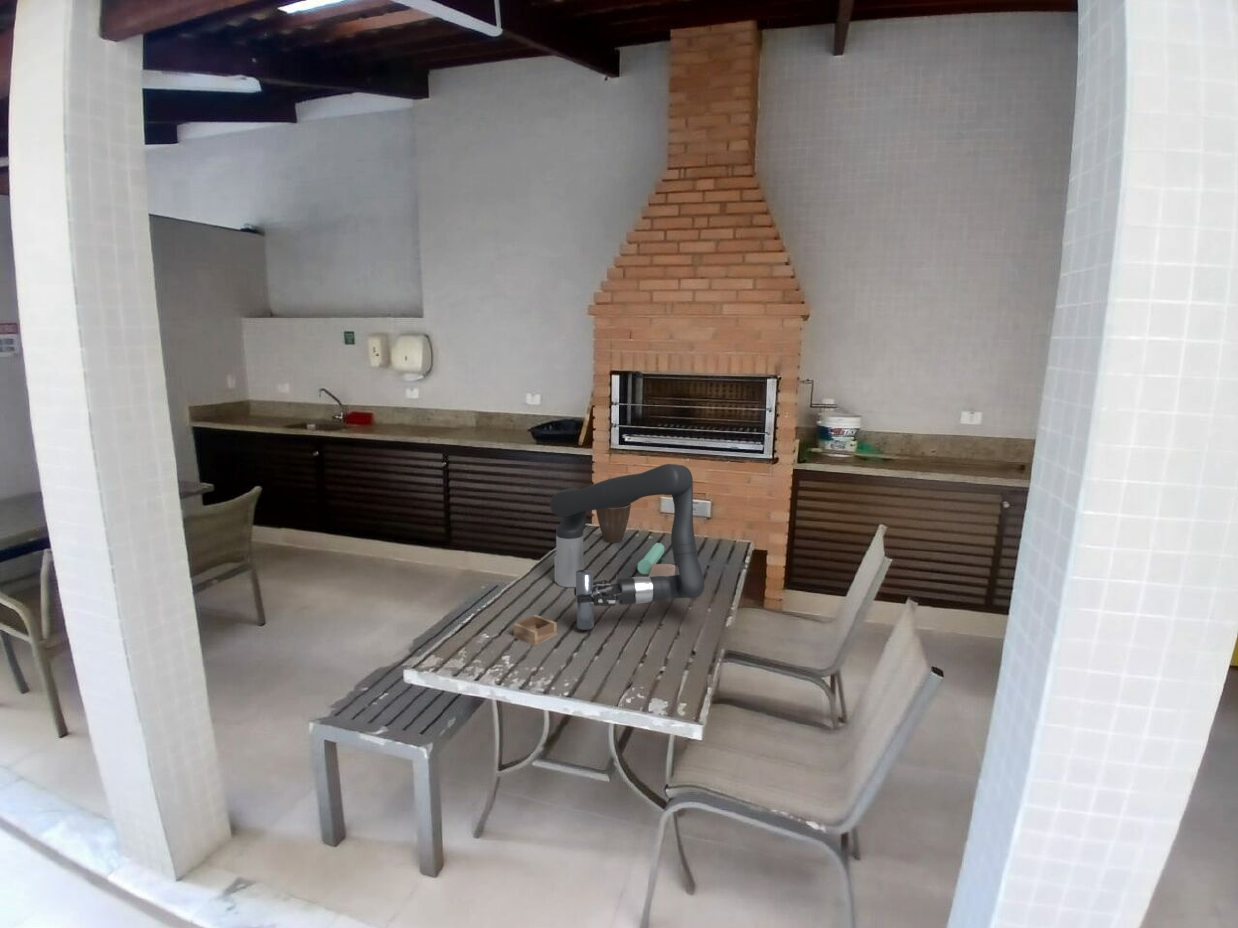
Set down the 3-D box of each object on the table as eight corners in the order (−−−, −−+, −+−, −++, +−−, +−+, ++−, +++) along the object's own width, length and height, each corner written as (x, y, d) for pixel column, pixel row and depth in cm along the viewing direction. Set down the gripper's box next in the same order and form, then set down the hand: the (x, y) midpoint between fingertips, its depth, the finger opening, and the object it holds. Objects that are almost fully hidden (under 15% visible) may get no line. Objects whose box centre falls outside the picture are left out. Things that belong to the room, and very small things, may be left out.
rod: (573, 626, 179) (572, 573, 176) (584, 620, 183) (583, 568, 180) (586, 631, 176) (585, 576, 173) (597, 625, 180) (596, 571, 177)
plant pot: (591, 544, 260) (591, 507, 257) (599, 534, 275) (599, 498, 272) (627, 546, 258) (628, 508, 255) (632, 536, 272) (633, 500, 269)
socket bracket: (512, 639, 176) (512, 624, 175) (535, 628, 183) (535, 613, 182) (534, 649, 171) (534, 633, 170) (558, 637, 178) (557, 622, 177)
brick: (670, 594, 210) (671, 580, 209) (645, 592, 211) (646, 578, 211) (675, 576, 226) (675, 564, 225) (652, 575, 227) (652, 562, 227)
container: (655, 537, 250) (640, 556, 227) (669, 544, 249) (655, 564, 226) (649, 550, 252) (634, 570, 228) (663, 557, 251) (649, 578, 227)
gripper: (629, 569, 186) (571, 573, 183) (640, 587, 173) (578, 592, 169) (629, 593, 188) (572, 598, 185) (640, 612, 174) (579, 618, 171)
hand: (575, 595), depth 177 cm, fingers closed on rod, 4 cm apart
